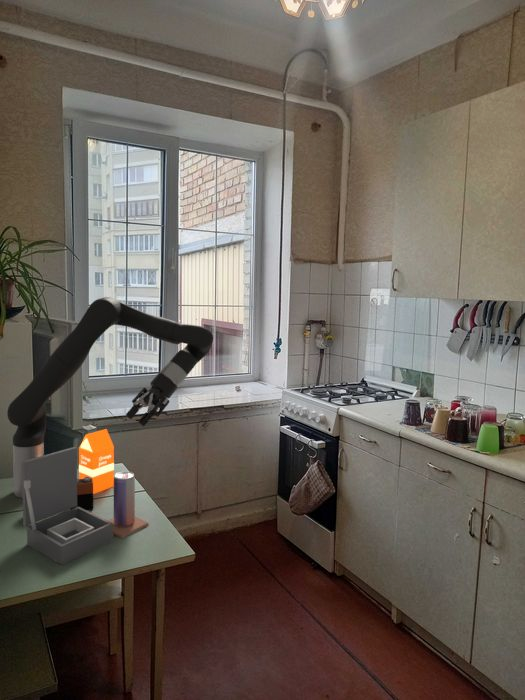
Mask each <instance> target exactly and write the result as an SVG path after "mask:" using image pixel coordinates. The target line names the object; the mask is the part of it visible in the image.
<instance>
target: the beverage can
mask: <svg viewBox="0 0 525 700" xmlns="http://www.w3.org/2000/svg"><path fill="white" fill-rule="evenodd" d="M135 479H136V478H135V474H134V473H133V472H132V471H127V470H126V471H119V472H116V473H115V474H114V486H113V518H114V524H115V525H116V526H117V527H128V526H131V525H132V524H133V523H134V521H135V517H136V516H135V513H136V511H135V510H136V506H135V505H136V504H135V502H136V501H135V500H136V498H135V495H136V493H135V492H136V491H135V490H136V489H135V488H136V487H135V486H136V485H135V484H136V483H135Z"/></svg>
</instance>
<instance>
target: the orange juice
mask: <svg viewBox="0 0 525 700" xmlns="http://www.w3.org/2000/svg"><path fill="white" fill-rule="evenodd" d="M114 451H115V446H114V443H113V441H112V439H111V436H110V434H109V432H108V429H107V428H105V429H101V430H97V431H95V432H94V431H93V432H91V433H86V434H85V436H84V438H83V439H82V442H81V444H80V445H79V447H78V475H79V476H78V479H84V477H90V478H92V479H93V495H94V494H97V493H99V492H103V491H104V490H107V489H110V488H114V475H115V474H114V473H115V471H114V470H115V458H114V457H115V456H114V454H115V452H114Z"/></svg>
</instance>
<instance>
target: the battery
mask: <svg viewBox="0 0 525 700" xmlns="http://www.w3.org/2000/svg"><path fill="white" fill-rule="evenodd" d="M76 507H81V508H83V509H85V510H87V511H92V510H93V509H94V494H93V479H92V478H90V477H84V479H79V478H77V506H76ZM76 507H73V508H76ZM73 508H71V509H73ZM71 509H69V510H71Z"/></svg>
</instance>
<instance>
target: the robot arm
mask: <svg viewBox="0 0 525 700" xmlns="http://www.w3.org/2000/svg"><path fill="white" fill-rule="evenodd" d="M112 326H121V327H127V328H131V329H134V330H137V331H139V332H142V333H143V334H146V335H147V336H150V337H151V338H154V339H157V340H159V341H163V342H167V343H168V344H169V343H170V344H172V345H180V344H186V345H185V346H184V348H183V349H180V350H179V351H177V352H176V353H175V355H174V356H172V358H171V360H169V361H168V363H167V364H165V365H164V367H163V368H161V370H160V371H159V372H158V373H157V374H156V375H155V377H154V378H153V379H152V380H151V382H150V387H151V388H149V389H147V388H146V387H143V388H142V389H141V390H140V391H139V392H138V393H137V395H135V397H134V398H132V400H131V402H132V407H131V408H130V409H129V410H128V411H127V412H126V414H125V415H126V417H127V418H128V419H129V420H132V419H133V418H134V417H135V416H136V415H137V413H138V412H140V410H141V409H142V408H146V407H148V408H147V412H145V413H144V414H143V415H142V416H141V417H140V419H139V420H138V421H137V422H138V424H139V425H141V426H142V427H145V426H146V424H147V423H148V422H149V421H150V420H151V419H152V418H154V417H156V418H158V417H159V416H160V415H161V413H162V412H163V411H165V409H166V407H167V406H168V405H169V404H170V400H169V399H170V398H171V397H172V396H173V394H174V393H175V392H176V390H178V388H180V386H181V384H182V383H183V382H184V381H185V379H186V378H187V377H188V375H189V374H190V373H191V371H193V369H194V367H195V366H196V365H197V364H198V363H199V362H200V361H202V360H203V359H204V357H205V356H206V355H207V354H208V353H209V352H210V351H211V349H212V347H213V342H214V334H213V333H212V331H210V329H208V328H206V327H204V326H201V325H197V324H187V323H181V322H178V321H174V320H172V319H168V318H165V317H162V316H158V315H154V314H151V313H147V312H144V311H142V310H139V309H136V308H134V307H132V306H129V305H128V304H125V303H123V302H121V301H119V300H117V299H115V298H113V297H110V296H109V297H108V296H104V297H100V298H97V299H95V300H93V302H92V303H91V304H90V305H89V307H88V308H87V310H86V311H85V312H84V315H82V318H81V319H80V320H79V322H78V323H77V326H75V328H74V329H73V330H72V331H71V332H70V333H69V334H68V335H67V336H66V337H65V338H64V340H63V341H62V342H61V343H60V344H59V345H58V347H57V348H56V349H54V351H53V352H52V354H51V355H50V356H49V357H48V358H47V360H46V361H45V363H44V364H43V365H42V367H40V369H39V371H38V372H37V373H36V375H35V376H34V378H33V379H32V380H31V382H30V383H29V385H27V387H26V388H25V389H23V391H21V393H19V394H18V396H17V397H15V398H14V399H13V400H12V402H10V404H9V406H8V407H7V408H8V409H7V419H8V420H9V422H10V424H12V425H13V426H16V427H17V429H16V431H15V433H14V434H13V436H12V453H13V464H12V477H13V479H12V480H13V493H14V496H15V497H17V498H22V499H23V494H22V461H26V460H29V459H33V458H36V457H40V456H44V455H45V446H44V438H45V434H46V430H47V406H46V402H47V401H48V399H49V398H51V396H52V395H53V394H55V393H56V392H57V391H58V390H59V389H61V388H62V387H63V386H64V385H65V384H66V383H67V382H68V381H70V379H71V378H73V377H74V375H75V374H76V373H77V372H78V370H79V369H80V368H81V367H82V365H83V364H84V362H85V360H86V359H87V357H88V356H89V353H90V352H91V349H92V347H93V346H94V344H95V343H96V341H97V340H98V339H100V337H101V336H102V335H103V334H104V333H105V332H106V331H107V330H109V328H111V327H112Z"/></svg>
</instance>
